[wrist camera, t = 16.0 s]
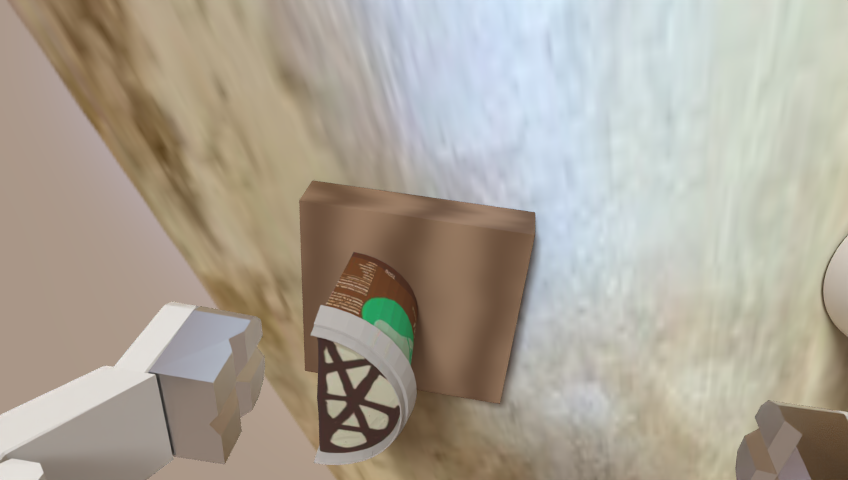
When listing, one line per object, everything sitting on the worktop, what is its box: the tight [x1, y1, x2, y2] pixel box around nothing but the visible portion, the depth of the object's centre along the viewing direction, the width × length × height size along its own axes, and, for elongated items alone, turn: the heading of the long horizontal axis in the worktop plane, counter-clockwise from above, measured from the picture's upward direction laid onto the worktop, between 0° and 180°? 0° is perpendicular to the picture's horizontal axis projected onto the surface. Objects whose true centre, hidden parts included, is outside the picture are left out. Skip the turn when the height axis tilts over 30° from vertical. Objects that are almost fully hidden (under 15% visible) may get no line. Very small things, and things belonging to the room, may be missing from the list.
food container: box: [311, 252, 418, 465], centre depth 42 cm, size 12×6×10 cm, turn 175°
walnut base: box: [299, 181, 535, 404], centre depth 47 cm, size 16×16×3 cm
